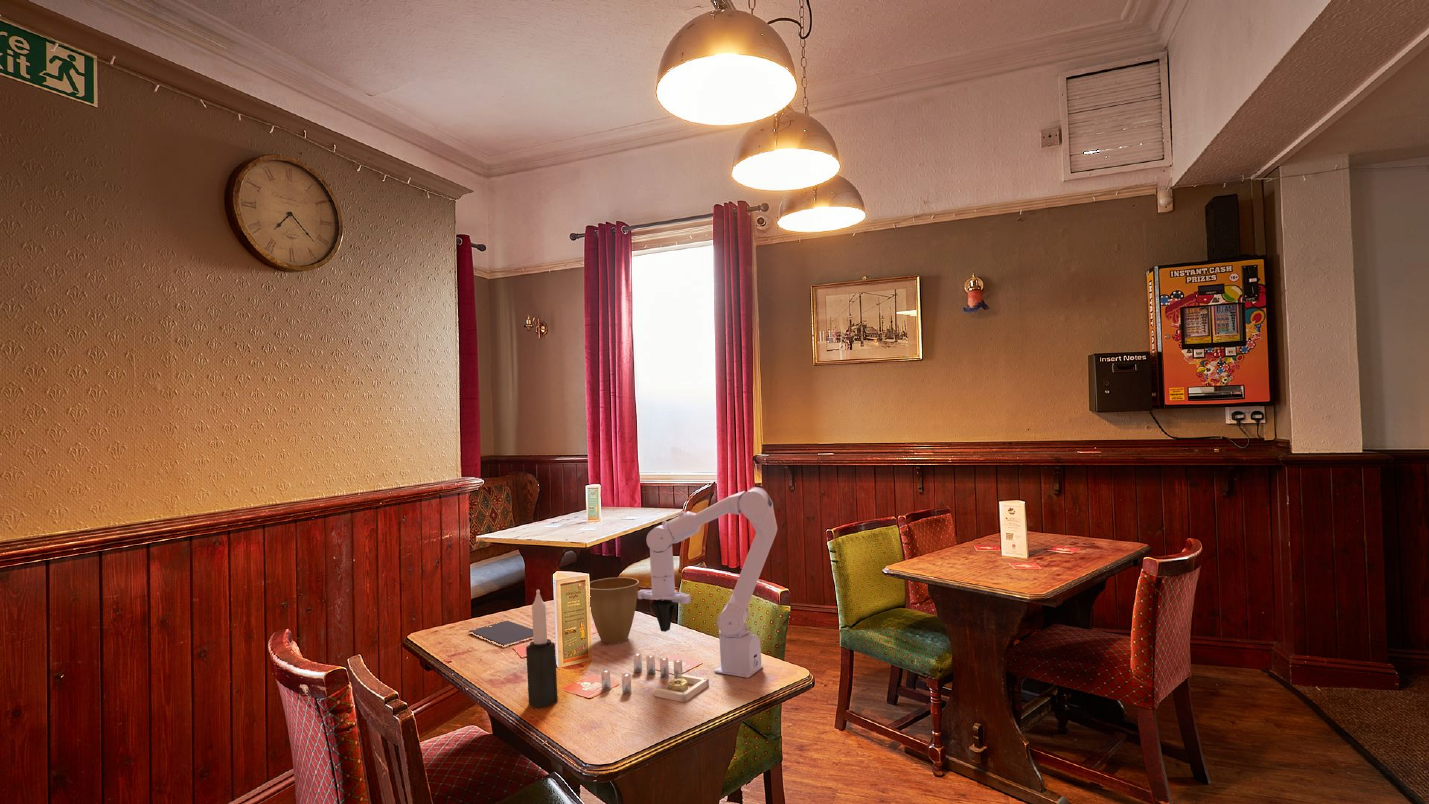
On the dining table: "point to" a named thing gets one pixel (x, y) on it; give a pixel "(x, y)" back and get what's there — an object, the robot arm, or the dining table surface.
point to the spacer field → (638, 668)
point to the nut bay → (683, 697)
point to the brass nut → (678, 685)
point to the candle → (541, 660)
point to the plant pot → (613, 607)
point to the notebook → (504, 632)
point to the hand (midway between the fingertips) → (665, 630)
